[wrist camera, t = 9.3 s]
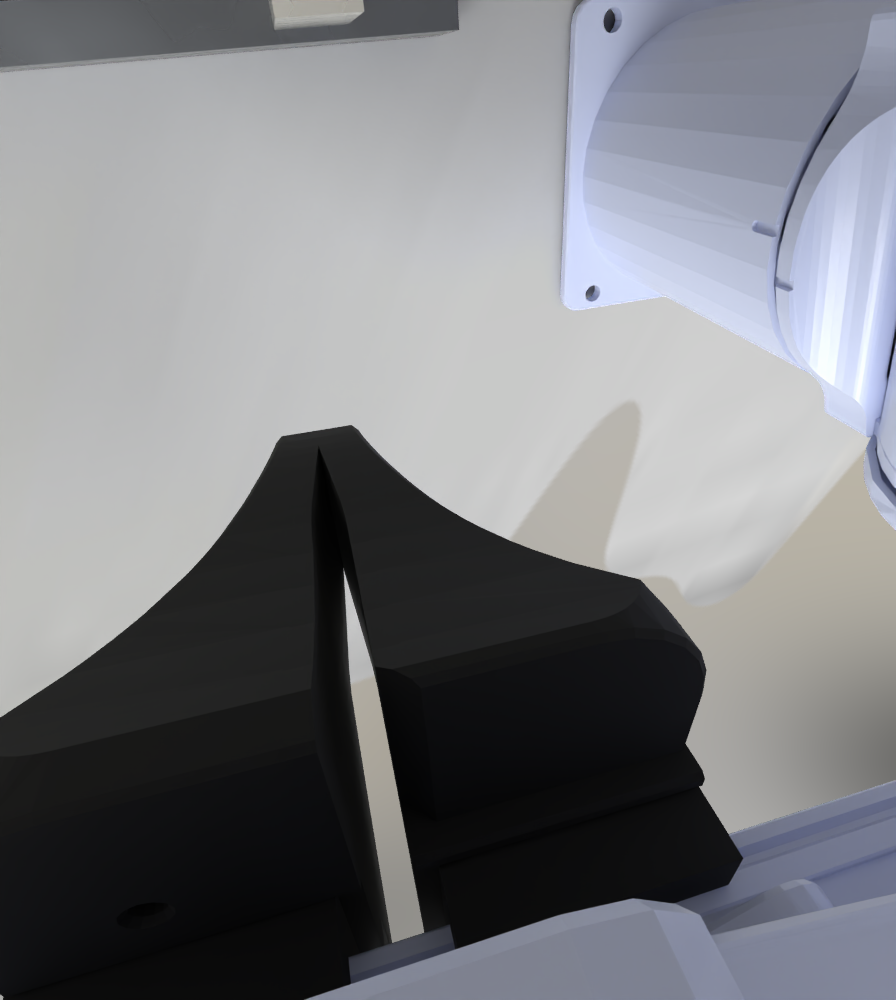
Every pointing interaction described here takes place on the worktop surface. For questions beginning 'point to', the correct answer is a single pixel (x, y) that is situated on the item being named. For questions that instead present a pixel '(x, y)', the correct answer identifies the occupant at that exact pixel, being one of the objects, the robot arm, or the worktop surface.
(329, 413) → the worktop surface
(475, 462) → the worktop surface
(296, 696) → the robot arm
